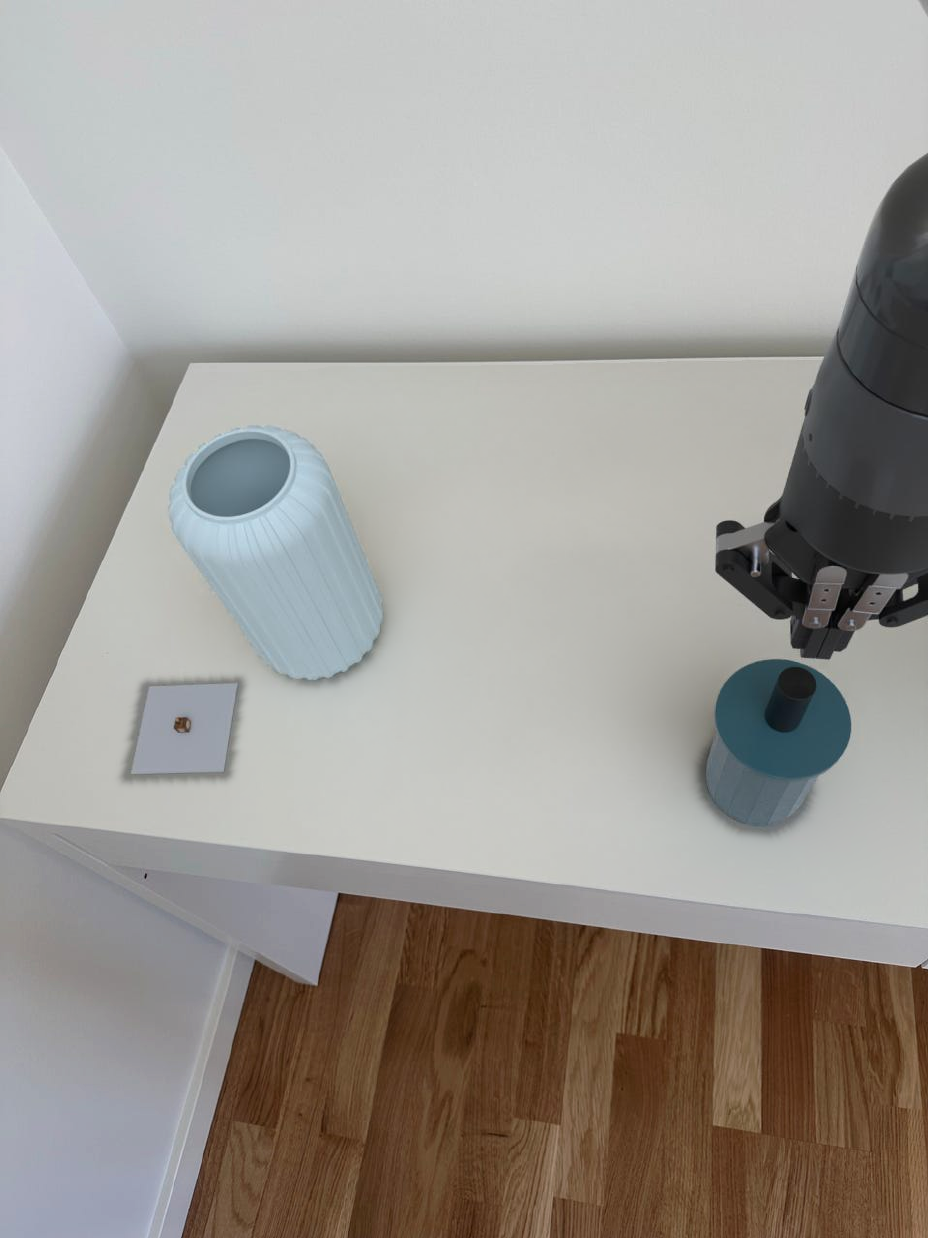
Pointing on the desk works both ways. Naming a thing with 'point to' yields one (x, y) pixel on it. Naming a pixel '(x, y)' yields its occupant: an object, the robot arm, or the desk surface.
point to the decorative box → (185, 729)
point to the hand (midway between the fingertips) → (814, 643)
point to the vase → (278, 549)
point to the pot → (751, 790)
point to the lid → (782, 720)
